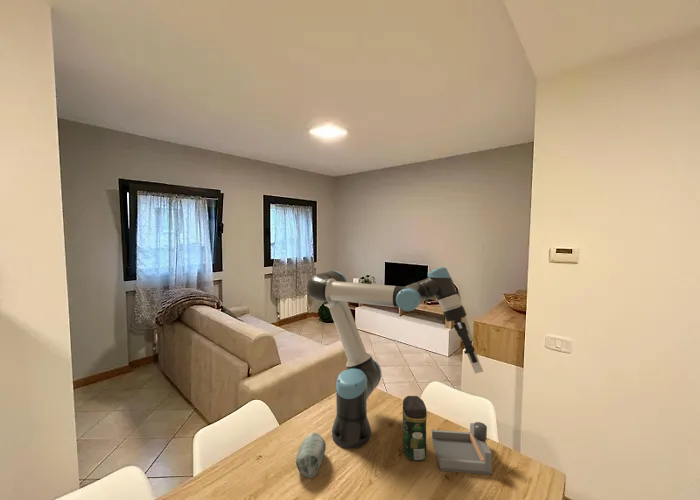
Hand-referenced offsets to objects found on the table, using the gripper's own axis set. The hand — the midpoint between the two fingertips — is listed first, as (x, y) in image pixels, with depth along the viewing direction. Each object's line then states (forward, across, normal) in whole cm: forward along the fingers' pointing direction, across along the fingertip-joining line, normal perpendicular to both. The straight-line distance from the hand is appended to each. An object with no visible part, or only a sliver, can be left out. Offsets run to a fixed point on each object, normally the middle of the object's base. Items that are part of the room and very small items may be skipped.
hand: (477, 367), depth 98 cm
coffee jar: (+21, 0, +31) cm, 38 cm away
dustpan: (+26, +4, +17) cm, 32 cm away
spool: (+12, -17, +62) cm, 65 cm away
